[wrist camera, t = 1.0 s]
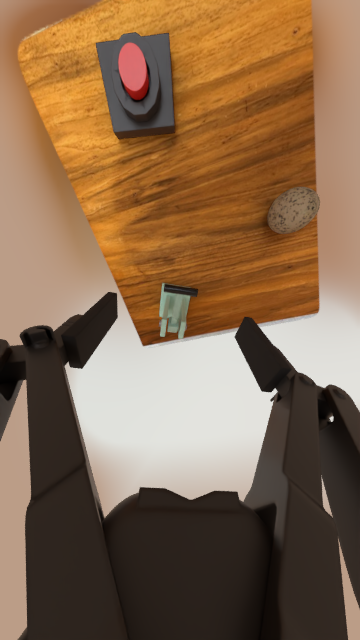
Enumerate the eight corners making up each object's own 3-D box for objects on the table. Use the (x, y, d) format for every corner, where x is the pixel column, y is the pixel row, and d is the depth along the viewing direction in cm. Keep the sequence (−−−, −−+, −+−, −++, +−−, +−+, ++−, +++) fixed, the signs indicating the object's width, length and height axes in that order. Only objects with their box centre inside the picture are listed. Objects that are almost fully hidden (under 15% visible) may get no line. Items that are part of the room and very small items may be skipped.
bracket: (162, 282, 40) (155, 305, 28) (191, 287, 40) (196, 311, 29) (159, 314, 45) (152, 345, 33) (185, 318, 46) (187, 349, 34)
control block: (169, 49, 21) (168, 15, 18) (174, 133, 26) (174, 118, 22) (102, 58, 22) (88, 27, 18) (118, 139, 26) (109, 126, 23)
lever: (165, 279, 22) (163, 291, 21) (198, 284, 22) (197, 296, 21) (162, 321, 34) (160, 330, 33) (183, 324, 35) (182, 333, 33)
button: (146, 54, 20) (143, 40, 18) (150, 98, 21) (148, 89, 20) (119, 57, 20) (114, 44, 18) (126, 101, 22) (122, 92, 20)
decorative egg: (286, 182, 29) (329, 163, 21) (301, 213, 32) (345, 208, 23) (253, 214, 32) (280, 209, 23) (270, 240, 34) (299, 244, 26)
